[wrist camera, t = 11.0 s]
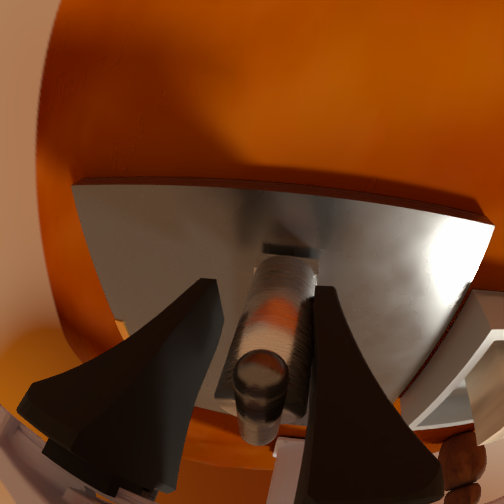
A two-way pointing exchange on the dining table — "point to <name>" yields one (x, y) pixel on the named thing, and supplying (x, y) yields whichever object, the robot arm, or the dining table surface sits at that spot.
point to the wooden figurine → (462, 468)
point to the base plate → (291, 244)
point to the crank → (271, 349)
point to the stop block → (488, 394)
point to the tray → (454, 365)
